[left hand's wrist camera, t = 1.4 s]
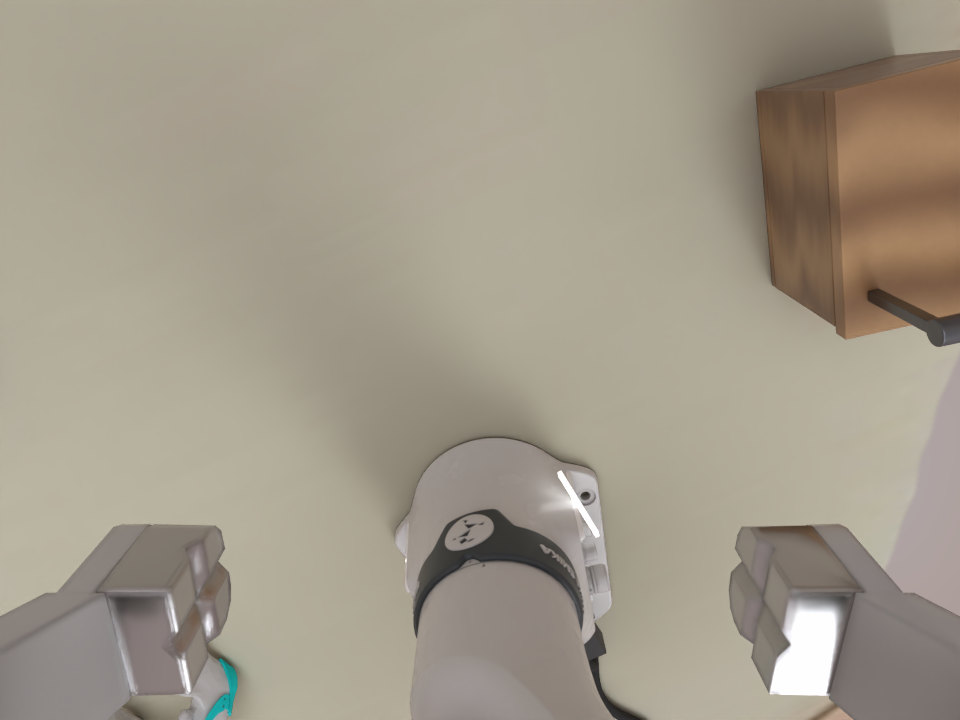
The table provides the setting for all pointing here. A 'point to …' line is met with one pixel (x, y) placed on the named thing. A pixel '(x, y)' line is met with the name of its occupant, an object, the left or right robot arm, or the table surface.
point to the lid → (896, 202)
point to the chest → (808, 177)
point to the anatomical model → (205, 694)
